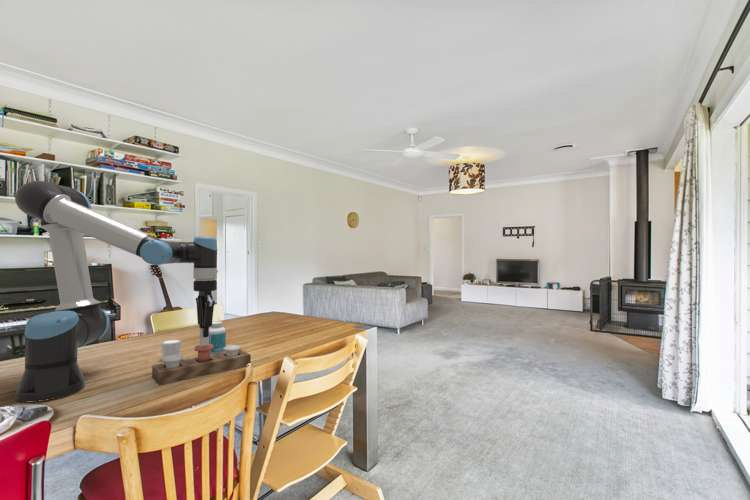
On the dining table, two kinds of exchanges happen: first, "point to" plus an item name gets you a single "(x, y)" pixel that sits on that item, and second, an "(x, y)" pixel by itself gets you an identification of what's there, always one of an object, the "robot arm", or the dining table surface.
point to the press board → (199, 367)
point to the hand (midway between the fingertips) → (204, 345)
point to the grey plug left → (172, 361)
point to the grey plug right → (232, 350)
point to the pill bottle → (217, 337)
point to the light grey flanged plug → (170, 347)
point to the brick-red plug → (203, 352)
